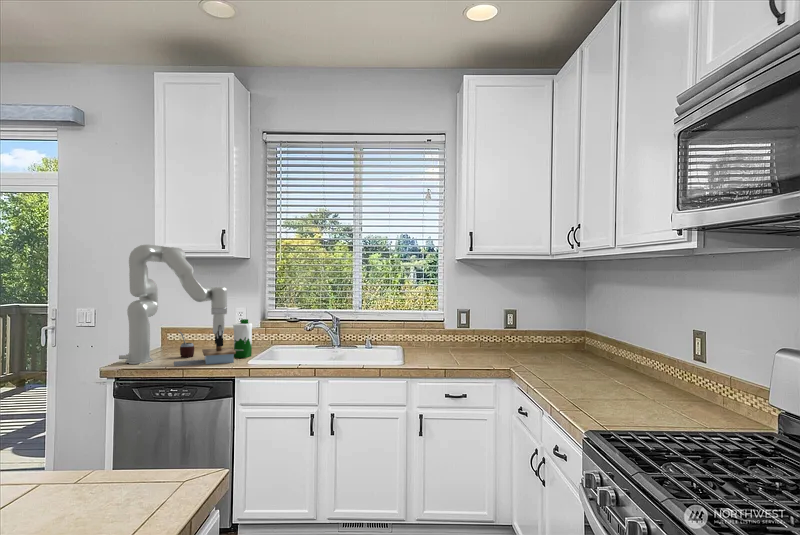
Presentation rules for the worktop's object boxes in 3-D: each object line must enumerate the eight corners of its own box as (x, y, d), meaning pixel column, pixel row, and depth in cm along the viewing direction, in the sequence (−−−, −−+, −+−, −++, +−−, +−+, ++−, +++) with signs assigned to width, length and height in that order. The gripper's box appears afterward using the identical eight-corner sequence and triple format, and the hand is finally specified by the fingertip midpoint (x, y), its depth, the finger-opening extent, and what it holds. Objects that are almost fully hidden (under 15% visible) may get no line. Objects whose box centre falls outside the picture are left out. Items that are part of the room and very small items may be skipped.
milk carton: (253, 355, 281) (253, 319, 281) (246, 358, 272) (246, 321, 272) (238, 355, 282) (238, 319, 282) (231, 358, 273) (231, 320, 273)
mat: (173, 367, 247) (173, 366, 247) (173, 362, 260) (173, 361, 260) (204, 365, 253) (204, 364, 253) (203, 360, 265) (203, 359, 265)
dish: (206, 365, 252) (206, 355, 252) (204, 361, 264) (204, 351, 264) (233, 363, 258) (233, 353, 258) (231, 359, 270) (231, 349, 270)
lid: (203, 355, 251) (203, 343, 251) (202, 351, 265) (202, 339, 265) (235, 353, 257) (235, 341, 257) (232, 349, 271) (232, 338, 271)
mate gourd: (195, 358, 271) (195, 330, 271) (179, 360, 267) (179, 331, 267) (192, 356, 278) (192, 329, 278) (177, 358, 273) (177, 329, 273)
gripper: (210, 310, 267) (210, 343, 267) (212, 312, 252) (212, 347, 252) (225, 309, 270) (225, 342, 270) (228, 312, 255) (228, 346, 255)
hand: (219, 344), depth 261 cm, fingers open, 9 cm apart
